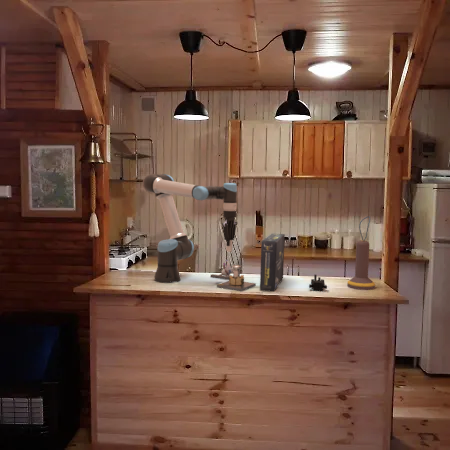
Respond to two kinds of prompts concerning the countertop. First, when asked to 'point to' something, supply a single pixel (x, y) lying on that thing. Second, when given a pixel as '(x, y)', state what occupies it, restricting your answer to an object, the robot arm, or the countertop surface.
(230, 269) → the figurine
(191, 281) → the countertop surface
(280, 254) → the box
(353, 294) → the countertop surface
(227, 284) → the brass fixture on plate
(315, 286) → the toy
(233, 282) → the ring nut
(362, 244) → the flashlight
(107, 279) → the countertop surface
